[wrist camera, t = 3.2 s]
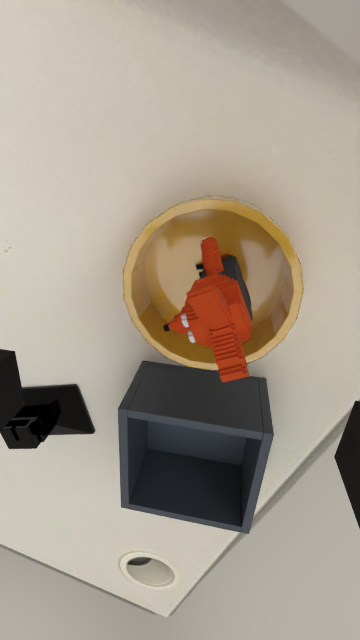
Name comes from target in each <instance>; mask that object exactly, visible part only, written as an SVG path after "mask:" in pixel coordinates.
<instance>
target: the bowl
mask: <svg viewBox="0 0 360 640" xmlns="http://www.w3.org/2000/svg"><path fill="white" fill-rule="evenodd" d="M209 237H212V238H216V241H217V244H218V247H219V251H220V256H222V255H224V254H227V253H228V254H229V255H232V254H233V256H236V258H237V261H238V263H239V266H240V269H241V272H242V277H243V280H244V282H245V284H246V286H247V289H248V292H249V295H250V298H251V310H252V316H253V321H252V328H253V329H250V331H251V334H250V335H251V336H250V337H249V339H248V340H247V341H245V342H243V343H242V347H243V351H244V355H245V359H246V364H248V363H250V362H252V361H255V360H257V359H259V358H262V357H263V356H264V355H266V354H267V353H268V352H269V351H271V350H272V349H273V348H274V347H275V346H277V345H278V344H279V343H280V342H281V341H282V340H283V339H284V338H285V336H286V335H287V333H288V331H289V330H290V328H291V327H292V325H293V324H294V322H295V321H296V319H297V316H298V312H299V308H300V304H301V299H302V295H303V281H302V272H301V263H300V260H299V258H298V256H297V254H296V252H295V250H294V248H293V246H292V244H291V242H290V240H289V238H288V236H287V235H286V234H285V233H284V231H283V230H282V229H281V228H280V227H279V226H278V225H277V224H276V223H275V222H274V221H273V220H272V219H271V218H270V217H269V216H268V215H267V214H266V213H265V212H264V211H262V210H261V209H260V208H258V207H256V206H254V205H252V204H249V203H247V202H245V201H242V200H240V199H238V198H235V197H225V196H210V195H208V196H204V197H200V198H196V199H192V200H189V201H185V202H182V203H179V204H177V205H175V206H173V207H171V208H169V209H168V210H166V211H165V212H164V213H162V214H161V215H159V216H158V217H156V218H155V219H153V220H152V221H150V222H149V223H148V224H147V225H146V226H145V228H144V229H143V230H142V232H141V233H140V234H139V236H138V237H137V239H136V240H135V241H134V243H133V244H132V246H131V248H130V251H129V254H128V257H127V260H126V264H125V267H124V270H123V289H124V300H125V303H126V306H127V309H128V312H129V315H130V318H131V320H132V322H133V324H134V325H135V326H136V328H137V329H138V331H139V332H140V333H141V335H142V336H143V338H144V339H145V340H146V341H147V343H149V344H150V345H151V346H152V347H154V348H155V349H156V350H157V351H159V352H160V353H161V354H162V355H164V356H165V357H167V358H169V359H171V360H173V361H176V362H178V363H180V364H183V365H185V366H187V367H188V366H189V367H193V368H200V369H207V370H219V369H218V366H217V364H216V359H215V355H214V350H213V347H211V348H209V347H208V346H205V345H200V344H199V343H197V342H194V343H192V342H190V339H189V337H187V335H186V333H185V334H184V333H181V334H179V333H178V332H175V330H174V329H173V330H170V331H166V332H165V330H164V328H163V326H164V325H165V324H168V323H169V322H171V321H172V320H173V318H174V316H175V315H176V314H179V313H180V312H181V310H182V308H183V307H184V306H185V301H186V299H187V295H186V294H187V292H189V291H190V290H191V288H192V286H193V283H194V281H195V280H198V279H199V278H200V276H199V273H200V272H202V271H203V269H201V270H200V269H198V270H197V269H196V265H197V264H200V263H203V257H202V252H201V251H202V250H201V246H200V244H202V240H204V239H206V238H209Z"/></svg>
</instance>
